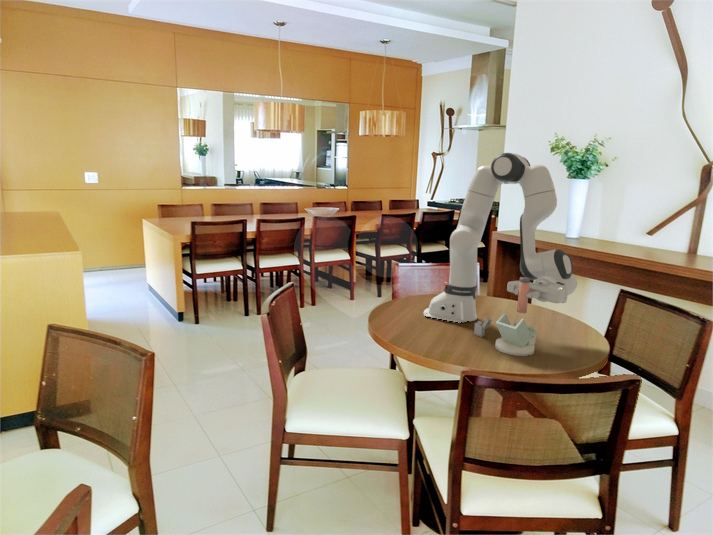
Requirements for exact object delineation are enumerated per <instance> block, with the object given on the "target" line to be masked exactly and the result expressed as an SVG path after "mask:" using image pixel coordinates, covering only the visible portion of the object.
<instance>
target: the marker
mask: <svg viewBox="0 0 713 535" xmlns="http://www.w3.org/2000/svg"><path fill="white" fill-rule="evenodd" d="M519 281H520V283H519V294H518V295H517V308H516V312H517V313H520V314H527V312H528V301H529V298H527V297H526V293H527V292H529V282H530V283H531V280H530V278H527V277H525V276H520V277H519Z"/></svg>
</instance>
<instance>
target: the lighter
mask: <svg viewBox="0 0 713 535" xmlns="http://www.w3.org/2000/svg"><path fill="white" fill-rule="evenodd" d="M492 321H493V320H492V319H491V318H490V317H486V318H485V320H484V321H483V322H482V321H480V320H477V322H474V328H473V330H474V331H473V335H475V334H476V336H477V335H478V337H480V338H484V337H485V332H486V329H488V328H489V326H490V324H491V322H492ZM483 336H484V337H483Z"/></svg>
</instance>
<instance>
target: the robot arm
mask: <svg viewBox="0 0 713 535" xmlns="http://www.w3.org/2000/svg"><path fill="white" fill-rule="evenodd" d="M503 184H504V185H508V184H509V185H510V184H512V185H513V184H515V185H516V184H519V186H520V187H521V189H522V193H523V198H524V199H523V200H524V209H523V212H522V214H521V215H520V217H519V218H520V219H519V239H520V241H519V242H520V262H519V270H520V272H521V274H522V275H523V277H527V278H530V282H529V292H527V293H526V297H527V298H528V299H536V300H538V301H539V302H543V303H544V302H545V303H546V302H548V303H553V304H566V303H567V300H568V296H570V295H572V294H574V292H576V290H577V287H578V280H577V278H576V276H575V275H574V274H573V262H572V259H571V256H569V254H568V253H567V252H566V251H565V250H563V249H561V248H557V249H552V250H551V249H550V250H546V251H541V252H536V233H535V232H536V229H537V227H538V226H539V225H540V224H541V223H542V222H544V221H545V220H546V219H547V218H549V217H551V216H552V214H553V213H554V212H555V211H556V209H557V206H558V203H557V202H558V199H557V194H556V190H555V189H556V188H555V184H554V181H553V179H552V177H551V173H550V171H549V169H548V168H547V166H545V165H542V164H534V165H531V164H530V162H529V160H528V159H527V158H526V157H524V156H522V155H520V154H517V153H512V152H501V153H500V154H497V155H496V156H495V157H494V158H493V160H492V162H491V165H485V164H484V165H481V166H479V167H478V168H477V169H476V170H475V173H474V174H473V177H472V178H471V181H470V183H469V186H468V189H467V192H466V194H465V196H464V199H463V200H464V201H463V204H462V206H461V209H460V215H459V218H458V219H459V220H458V223H457V226H456V229H454V230H453V231H452V232H451V234H450V237H449V276H448V277H449V278H448V281H445V282H444V283H443V291H442V292H441V293H439V294H437V295H436V296H434V297H433V298H432V299H431V300H430V302H429V306H428V307H427V308H425V309H424V310H423V313H422V315H423V314H424V315H423V317H425V316H426V317H431V318H430V319H432V318H437V319H436V320H438V319H442V320H441V321H443V320H447V321H446V322H449V321H453V322H452V323H455V322H458V323H457V324H461V322H462V323H465V322H467V321H469V322H474V321H476V320H478V315H477V310H476V299H477V291H478V286H477V277H478V276H477V275H478V247H479V245H480V243H481V241H482V237H483V235H484V231H485V228H486V225H487V222H488V219H489V215H490V212H491V210H492V207H493V203H494V201H495V198H496V195H497V193H498V190H499V188H500V186H501V185H503ZM531 281H533V282H531ZM519 283H520V280H511V281H508V282H507V284H506V285H507V287H506V291H507V292H509V293H513V294H514V295H515V296H518V294H519ZM426 317H425V318H426ZM467 323H468V322H467Z"/></svg>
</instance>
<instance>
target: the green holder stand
mask: <svg viewBox="0 0 713 535" xmlns="http://www.w3.org/2000/svg"><path fill="white" fill-rule="evenodd" d="M495 324H496V327H497V330H498V331H499V334H500V336H501V337H499V338H497V339H495V343H494V344H495V347H494V348H495V349H496V350H497V351H499V352H500V353H503V354H506V355H509V356H516V357H527V356H528V355H529V356H532V355H534V354H535V349H536V348H535V344H536V339H537V329H536V328H535V327H534V326H530V325H527V323H526V320H525V318H523V317H522V318H521V319H520V321H518V322H517V321H513V325H511V322H510V320H509V318H508V315H507V313H506V312H503V313H502V315H500V317H499V318H498V319H497V320H496V322H495Z"/></svg>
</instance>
